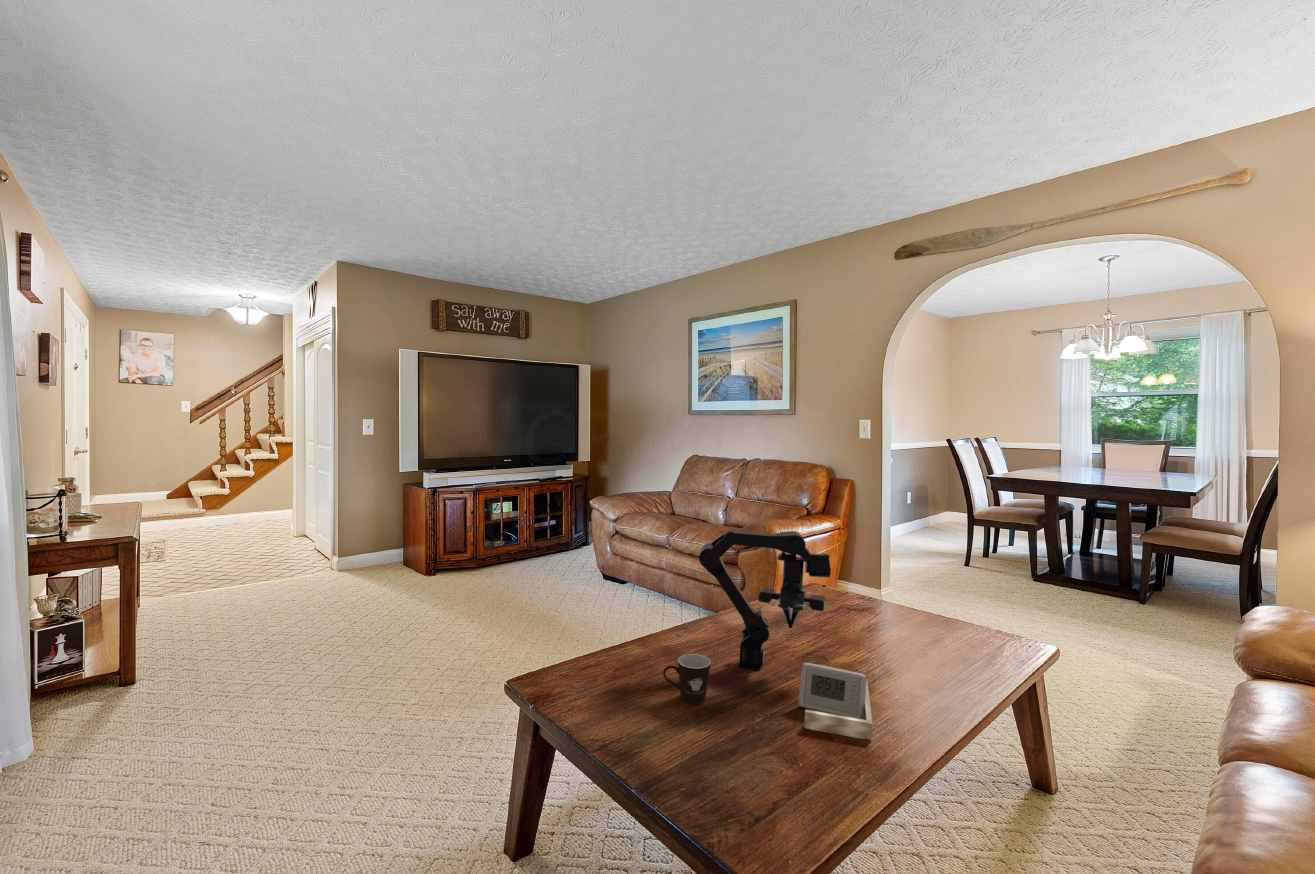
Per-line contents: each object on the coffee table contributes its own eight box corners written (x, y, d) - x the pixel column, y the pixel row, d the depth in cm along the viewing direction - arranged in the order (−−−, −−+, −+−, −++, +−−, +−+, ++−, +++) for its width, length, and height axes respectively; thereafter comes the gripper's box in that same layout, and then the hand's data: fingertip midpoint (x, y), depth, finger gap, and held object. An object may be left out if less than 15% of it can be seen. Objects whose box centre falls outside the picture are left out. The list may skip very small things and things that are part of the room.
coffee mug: (712, 694, 156) (714, 657, 156) (704, 709, 148) (706, 670, 148) (671, 685, 160) (672, 649, 160) (660, 700, 152) (662, 662, 152)
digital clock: (794, 707, 151) (796, 666, 151) (807, 693, 159) (809, 655, 158) (859, 728, 142) (861, 685, 141) (869, 713, 149) (871, 672, 149)
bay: (804, 728, 141) (805, 711, 141) (808, 684, 164) (809, 670, 163) (871, 740, 137) (872, 723, 137) (866, 694, 159) (867, 679, 159)
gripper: (755, 578, 169) (753, 631, 169) (822, 587, 162) (820, 643, 163) (763, 568, 179) (761, 619, 180) (827, 576, 172) (824, 629, 173)
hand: (790, 627), depth 173 cm, fingers closed
